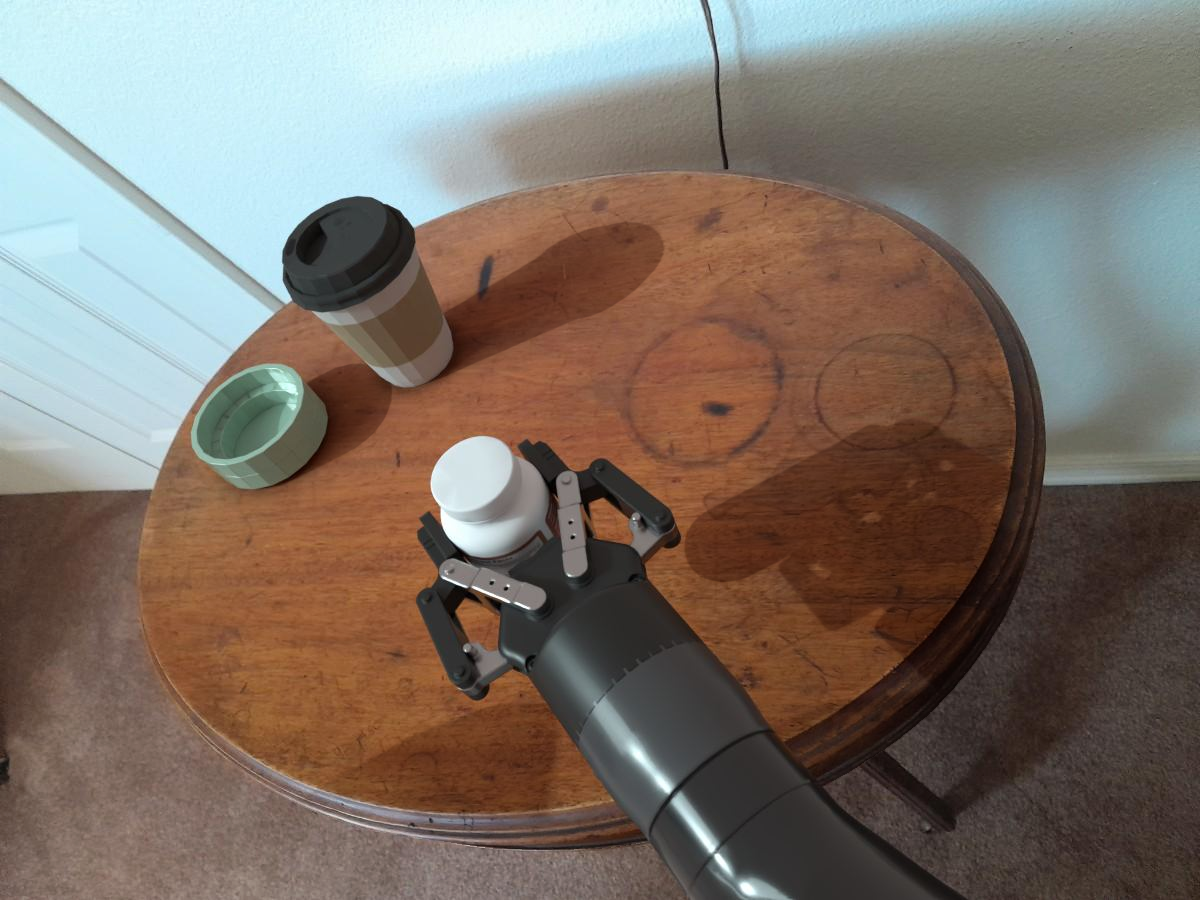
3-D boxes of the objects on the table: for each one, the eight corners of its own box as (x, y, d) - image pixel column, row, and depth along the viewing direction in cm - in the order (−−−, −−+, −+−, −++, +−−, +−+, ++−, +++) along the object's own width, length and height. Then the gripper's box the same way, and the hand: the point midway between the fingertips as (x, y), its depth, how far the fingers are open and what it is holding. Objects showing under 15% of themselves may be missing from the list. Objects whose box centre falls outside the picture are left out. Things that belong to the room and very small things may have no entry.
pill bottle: (522, 513, 56) (455, 411, 47) (604, 540, 53) (548, 437, 44) (474, 595, 53) (394, 504, 45) (558, 628, 50) (489, 537, 42)
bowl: (299, 496, 73) (269, 468, 70) (202, 487, 77) (169, 460, 74) (348, 395, 79) (322, 364, 75) (256, 391, 83) (227, 362, 79)
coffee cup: (368, 325, 83) (281, 206, 72) (478, 299, 81) (407, 171, 69) (354, 418, 77) (256, 303, 65) (473, 392, 75) (393, 268, 63)
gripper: (761, 573, 37) (558, 371, 47) (494, 790, 35) (340, 530, 45) (778, 639, 43) (594, 447, 53) (551, 829, 41) (403, 591, 51)
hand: (478, 486), depth 49 cm, fingers closed on pill bottle, 6 cm apart
